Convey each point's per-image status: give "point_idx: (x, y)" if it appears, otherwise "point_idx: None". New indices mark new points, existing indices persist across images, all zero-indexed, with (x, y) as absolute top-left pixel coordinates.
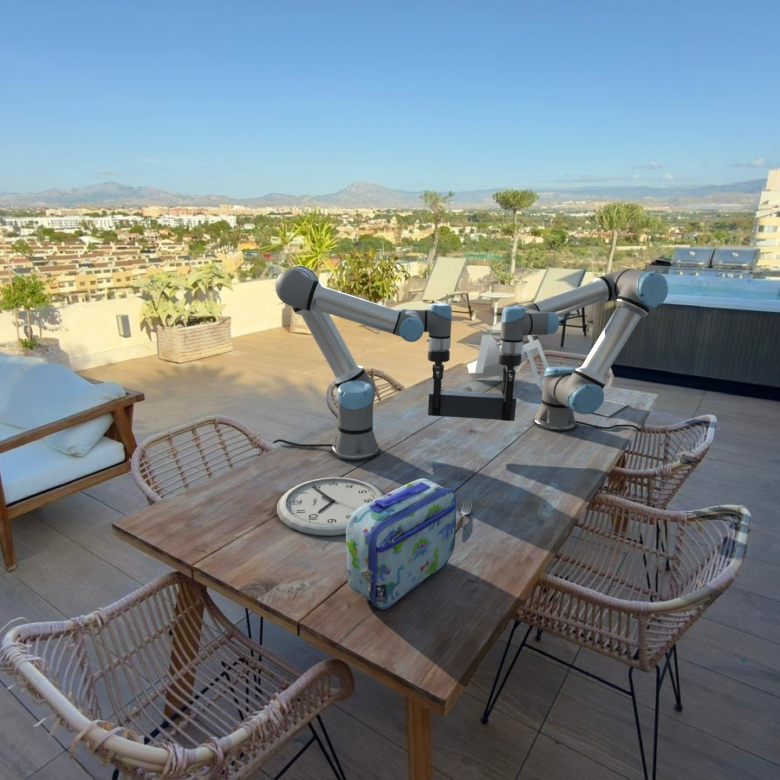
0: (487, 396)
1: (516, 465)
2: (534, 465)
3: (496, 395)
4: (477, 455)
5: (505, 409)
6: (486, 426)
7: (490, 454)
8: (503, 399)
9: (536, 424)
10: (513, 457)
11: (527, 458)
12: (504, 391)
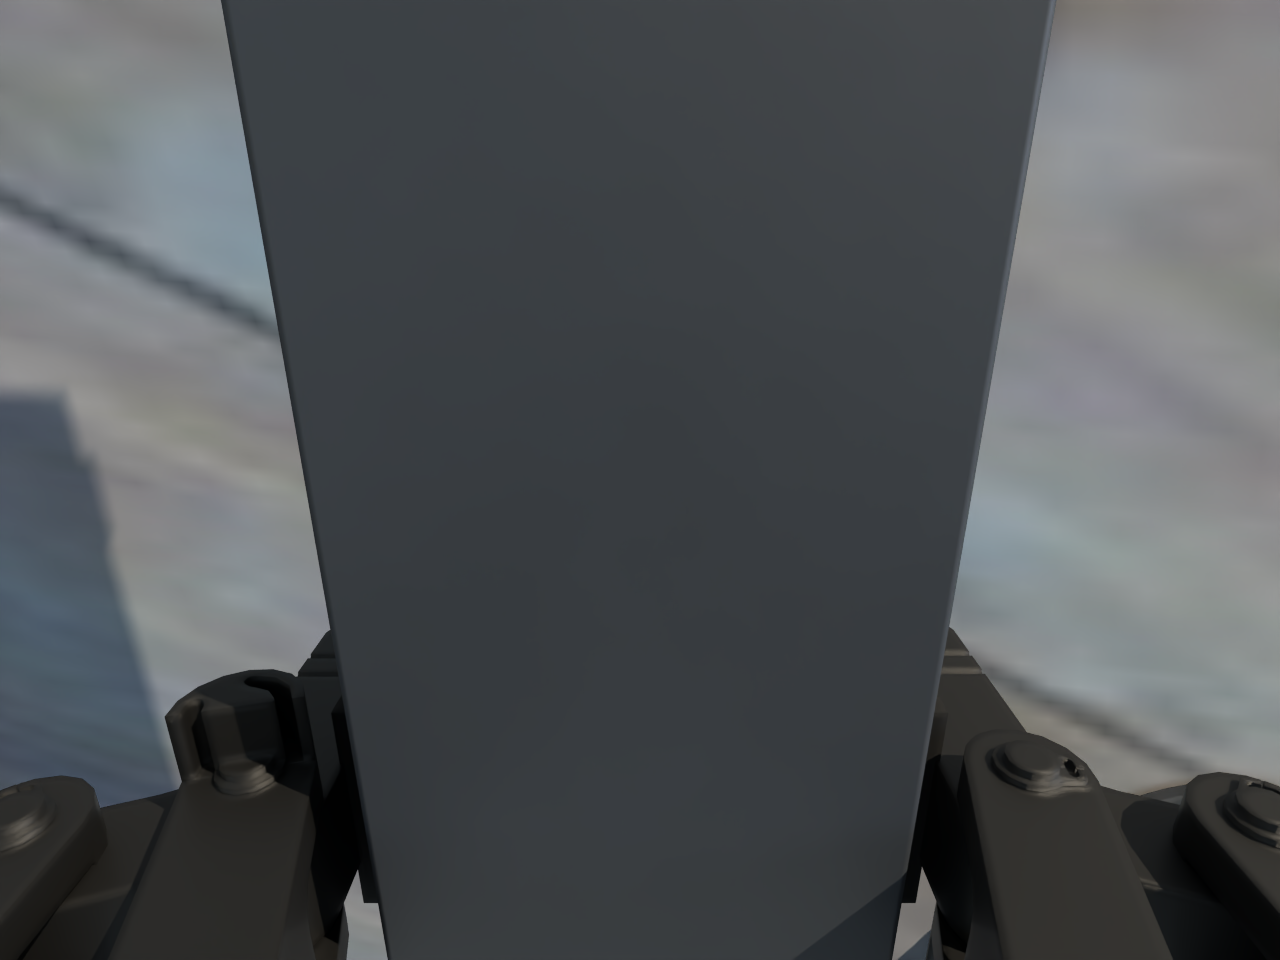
0: (401, 143)
1: (69, 495)
2: (139, 649)
3: (669, 591)
4: (167, 67)
5: (310, 660)
6: (1174, 246)
7: (254, 241)
8: (373, 774)
9: (1164, 791)
10: (258, 486)
11: (280, 610)
12: (985, 953)
